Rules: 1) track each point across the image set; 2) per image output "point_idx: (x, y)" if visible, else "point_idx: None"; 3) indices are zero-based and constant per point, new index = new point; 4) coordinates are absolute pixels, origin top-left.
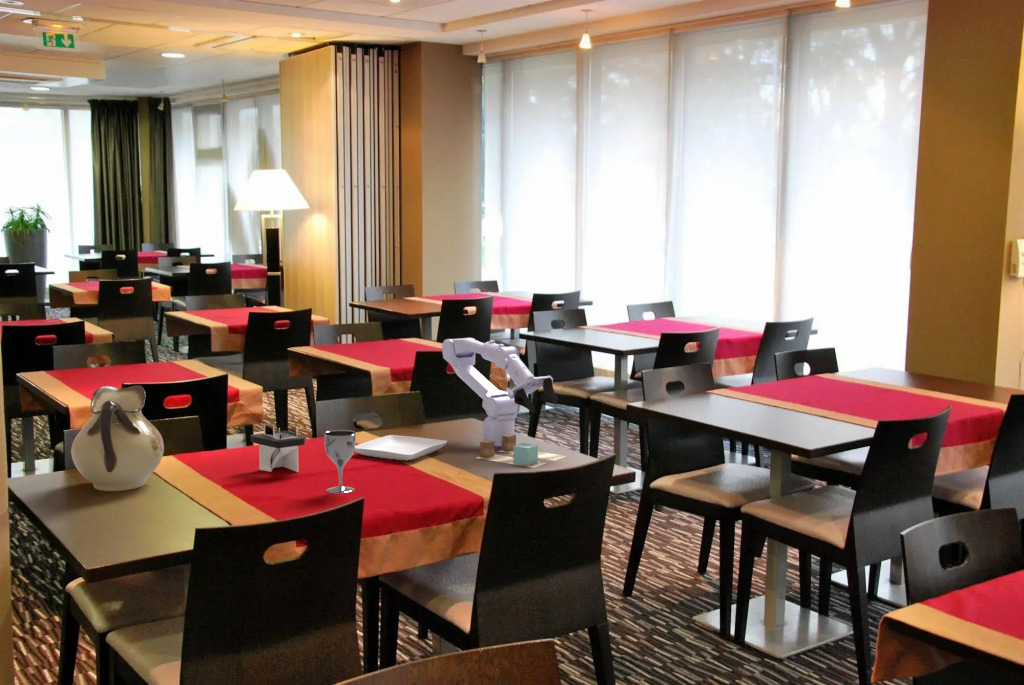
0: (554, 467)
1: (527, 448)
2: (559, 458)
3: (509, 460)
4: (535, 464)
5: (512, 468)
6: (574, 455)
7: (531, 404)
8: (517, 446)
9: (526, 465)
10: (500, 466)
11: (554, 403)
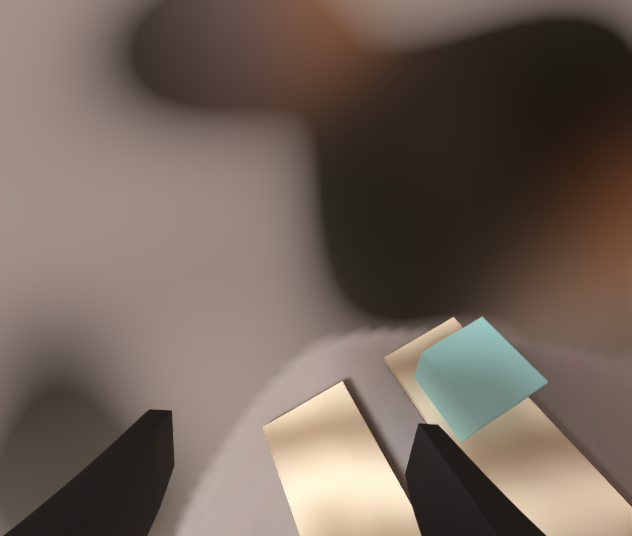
0: (367, 338)
1: (484, 319)
2: (310, 402)
3: (528, 463)
4: None
5: None
6: (201, 482)
7: (458, 451)
8: (528, 362)
9: None
10: (572, 431)
11: (171, 471)
